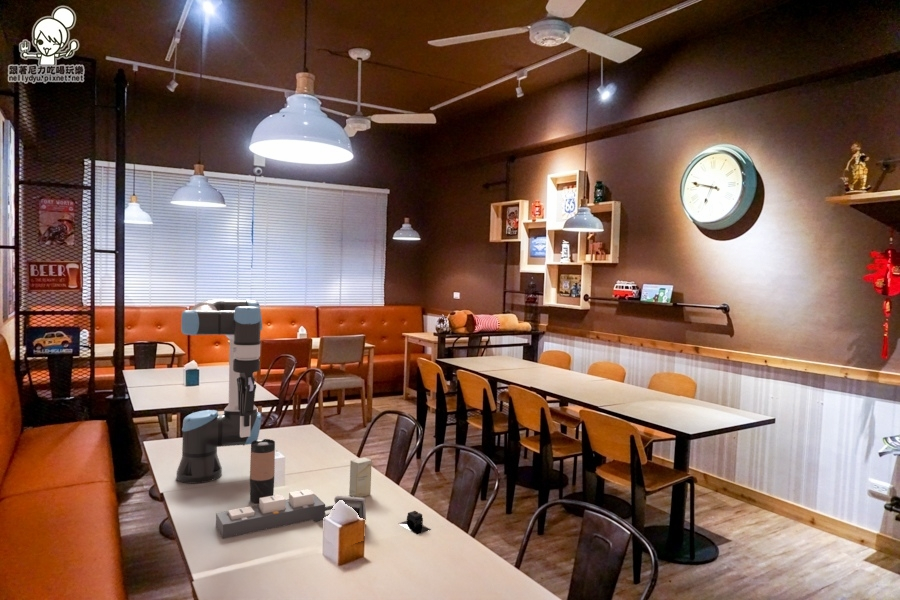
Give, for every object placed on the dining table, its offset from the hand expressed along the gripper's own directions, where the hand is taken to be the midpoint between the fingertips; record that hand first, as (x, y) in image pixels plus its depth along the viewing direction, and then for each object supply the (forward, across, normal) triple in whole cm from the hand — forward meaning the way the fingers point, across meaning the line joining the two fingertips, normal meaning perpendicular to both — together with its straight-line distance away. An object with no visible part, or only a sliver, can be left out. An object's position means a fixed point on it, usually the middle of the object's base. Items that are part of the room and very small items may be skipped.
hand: (245, 436), depth 174 cm
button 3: (+23, +6, +16) cm, 29 cm away
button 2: (+23, +6, +7) cm, 25 cm away
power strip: (+26, +6, +10) cm, 29 cm away
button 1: (+25, +6, -2) cm, 26 cm away
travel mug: (+27, -12, +9) cm, 31 cm away
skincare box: (+27, -3, +40) cm, 48 cm away
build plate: (+27, +27, +44) cm, 58 cm away
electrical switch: (+27, +18, +27) cm, 42 cm away
